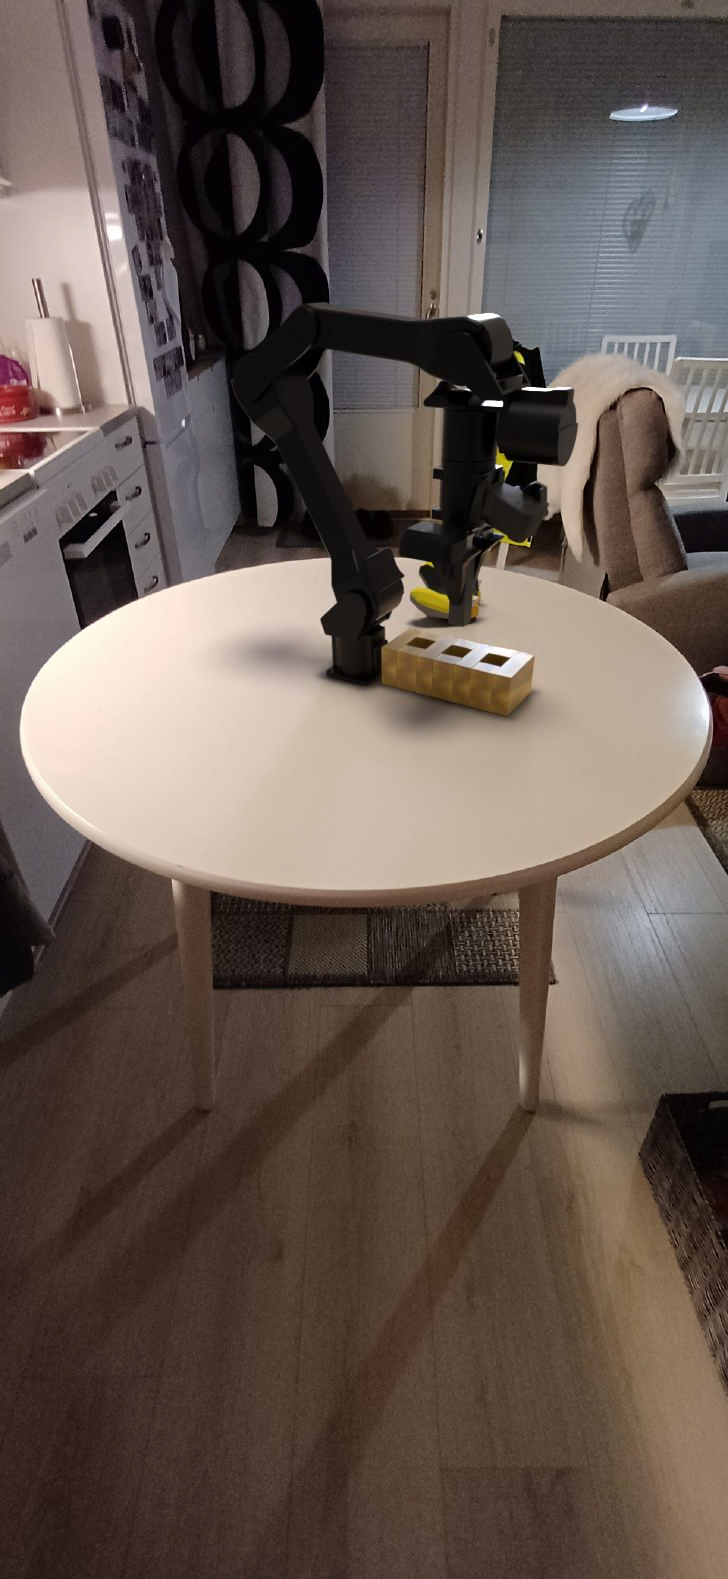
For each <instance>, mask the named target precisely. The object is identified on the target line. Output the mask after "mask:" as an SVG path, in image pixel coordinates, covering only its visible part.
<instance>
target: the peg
mask: <svg viewBox="0 0 728 1579" xmlns="http://www.w3.org/2000/svg"><path fill="white" fill-rule="evenodd" d="M472 548H476V544H472ZM474 568H475V557H474V558H473V559H472V560H471V561H470V562H469V564H468V570H467V575H466V581H465V586H464V592H463V596H462V600H461V604H460V605H459V606H454V605H451V604H450V602H449V616H448V619H447V624H449V625H452V626H457V627H461V628H464V627H465V626H467V625H468V624H470V623H471V621H472V618H471V611H472V597H473V582H474Z"/></svg>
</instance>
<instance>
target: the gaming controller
mask: <svg viewBox="0 0 728 1579" xmlns="http://www.w3.org/2000/svg"><path fill="white" fill-rule="evenodd" d="M418 576H419V578H420V579H421V580H422V582H423V584H424V585H425V587H423V586H422V587H421V586H418V587H415V588H413V589H410V590H411V591H410V593H409V600H410V602H411V603H412V604H413V606H415V607H416V609H417V610H419V611H420V612H421V613H422V614H424V615H425V616H426V617H429V618H437V619H443V620H444V619H447V620H448V616H449V599H448V597H447V595H446V592H445V590H444V588H443V586H442V583H441V581H440V579H439V577H438V574H437V572H436V570H435V568H434V566H433V565H432V563H431V562H426V561H425V562H424V563H422V564H420V566H419V569H418ZM482 581H483V576H478V577H477V580H476V583H475V586H474V588H473V597H472V611H471V619H473V618H474V617H478V616H479V607H480V605H479V604H478V603H480V602H481V596H482V592H481V589H480V587H481V584H482Z"/></svg>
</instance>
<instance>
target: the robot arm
mask: <svg viewBox="0 0 728 1579" xmlns="http://www.w3.org/2000/svg"><path fill="white" fill-rule="evenodd" d="M328 350H331V351H336V352H342V353H347V354H354V355H360V356H366V357H372V358H379V359H384V360H389V361H397V362H402V363H407V364H409V365H412V366H415V367H417V368H418V369H420V370H421V371H423V372H424V373H425V374H427V375H429V376H431V377H434V378H436V379H439V380H440V381H439V382H438V383H437V385H436V387H435V389H434V390H433V391H432V392H431V393H429V395H428V396H427V397H425V398H424V399H423V401H422V405H423V406H424V407H425V408H433V409H434V408H435V409H442V431H441V453H440V454H441V455H440V465H438V466H436V467H433V468H432V480H439V504H438V505H437V506H436V507H433V508H431V511H430V512H431V516H430V517H431V520H437V521H441V523H438V522H431V521H425V520H422V521H420V522H417V523H415V524H413V525H410V526H409V527H406V528H405V529H404V531H402V532H401V533H400V534H399V535H398V540H397V541H398V542H397V544H398V546H397V548H398V549H397V555H398V556H399V557H401V558H406V559H410V560H416V561H421V562H425V563H426V562H431V563H432V565H433V566H434V568H435V570H436V572H437V574H438V577H439V579H440V581H441V583H442V586H443V588H444V590H445V592H446V595H447V597H448V599H449V602H450V604H451V605H454V606H459V605H460V604H461V600H462V596H463V592H464V586H465V581H466V575H467V570H468V564H469V562H470V561H471V560H472V559H473V558H474V557H475V568H474V582H473V588H474V586H475V583H476V580H477V577H479V574H480V571H481V569H482V566H483V563H484V561H485V558H486V556H487V553H488V552H489V551H490V550H491V549H492V548H494V546H495V545H496V544H498V543H500V542H501V541H502V540H503V539H504V538H505V537H507V539H508V540H510V541H511V542H513V543H516V544H524V543H525V542H526V541H527V539H529V538H531V537H534V536H536V534H537V531H538V529H539V527H540V525H541V523H542V521H543V519H545V518H547V516H548V515H549V511H550V510H549V509H548V508H549V506H550V503H549V502H548V486H547V485H545V484H544V483H542V482H541V481H538V480H535V481H533V482H531V483H529V484H527V485H526V486H525V487H524V488H523V489H521V488H522V487H521V486H519V485H516V486H512V485H510V484H508V483H507V482H506V470H505V469H504V465H499V464H497V460H498V457H497V456H498V453H499V454H503V456H504V458H505V460H506V461H508V462H515V463H524V464H535V465H544V466H552V467H565V466H566V465H567V464H568V463H569V461H570V459H571V457H572V455H573V451H574V447H575V445H576V440H577V435H578V429H579V422H577V408H576V404H575V402H574V398H575V389H574V387H569V386H559V387H555V388H544V387H532V384H531V382H530V379H529V378H528V376H527V374H526V372H525V370H524V368H523V366H522V365H521V363H520V360H519V358H518V357H517V355H516V353H515V351H514V339H513V334H512V330H511V329H510V327H509V326H508V324H507V321H506V320H505V319H504V318H503V317H502V316H500V315H498V314H495V313H477V314H468V315H467V314H465V315H455V316H444V317H434V318H421V317H414V316H406V315H399V314H392V313H386V312H385V313H384V312H377V311H370V310H364V309H356V308H351V307H350V308H348V307H342V306H334V305H332V304H330V303H329V302H325V301H321V302H310V303H300V304H299V305H298V306H296V307H295V309H293V310H292V311H291V312H290V314H289V315H288V316H287V318H285V320H284V321H283V322H282V324H281V325H279V326H278V327H277V328H276V329H274V330H273V331H272V332H271V333H270V334H268V335H266V337H265V338H264V339H262V340H261V341H260V342H259V343H258V344H257V345H256V346H255V347H254V348H253V350H252V351H251V352H250V353H246V354H244V355H242V356H241V357H240V358H239V359H238V360H237V361H236V363H235V366H234V368H233V376H232V377H233V378H232V379H231V387H232V391H233V394H234V396H235V398H236V400H237V401H238V403H239V405H240V406H241V408H242V409H243V411H244V412H245V414H246V415H247V417H248V418H249V420H250V422H251V423H252V424H253V425H254V426H256V428H258V429H259V430H260V431H261V432H263V433H264V434H265V435H266V436H267V437H268V438H270V439H271V440H272V441H273V443H274V444H275V446H276V447H277V449H278V451H279V453H280V455H281V458H282V459H283V462H284V464H285V466H286V468H287V470H288V473H289V475H290V476H291V478H292V480H293V483H294V484H295V487H296V489H297V491H298V493H299V495H300V497H301V499H302V501H303V503H304V505H305V508H306V510H307V512H308V514H309V516H310V518H311V520H312V523H313V524H314V526H315V528H316V530H317V533H318V535H319V537H320V539H321V541H322V543H323V546H324V547H325V549H326V552H327V554H328V556H329V558H330V581H331V582H330V586H331V589H332V593H333V595H334V598H335V602H336V603H334V604H333V605H332V607H331V608H329V609H328V610H327V611H326V612H325V613H324V614H323V615H322V616H321V617H320V618H319V621H320V625H321V627H322V629H323V633H324V635H325V636H329V637H331V659H332V666H329V668H327V669H326V670H325V675H326V676H330V677H333V678H338V679H341V680H345V681H348V682H352V683H356V684H360V685H364V686H367V685H369V684H371V683H373V682H374V681H375V680H376V679H378V678H379V677H381V676H382V647H383V646H384V645H386V644H387V643H389V640H388V639H386V627H385V626H384V625H381V624H382V623H384V622H386V621H388V620H390V618H391V617H392V614H393V611H394V610H395V609H396V608H397V607H399V606H400V604H401V603H402V600H403V596H404V594H405V586H404V582H403V580H402V579H404V578H405V576H406V575H405V574H404V573H403V572H402V571H401V569H400V568H399V566H398V565H397V562H396V559H395V554H394V552H393V550H392V548H391V547H390V546H386V547H384V548H383V549H381V550H380V549H378V548H377V547H376V546H375V545H374V544H372V543H371V542H370V541H369V539H368V538H367V536H366V534H365V532H364V530H363V528H362V525H361V523H360V521H359V519H358V517H357V515H356V513H355V510H354V507H353V506H352V504H351V502H350V500H349V497H348V495H347V493H346V491H345V489H344V487H343V484H342V482H341V480H340V478H339V476H338V474H337V470H336V469H335V467H334V465H333V462H332V460H331V458H330V456H329V455H328V452H327V450H326V448H325V446H324V443H323V440H322V439H321V437H320V434H319V432H318V430H317V428H316V426H315V422H314V393H313V391H312V387H311V385H310V381H309V379H310V378H311V377H312V376H313V375H314V374H315V372H316V371H317V370H319V367H320V366H321V364H322V363H323V360H324V358H325V355H326V353H327V351H328ZM458 387H466V388H458ZM495 530H496V531H498V532H500V533H498V532H494V531H495ZM472 544H476V548H472Z"/></svg>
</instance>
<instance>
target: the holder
mask: <svg viewBox="0 0 728 1579" xmlns="http://www.w3.org/2000/svg"><path fill="white" fill-rule="evenodd" d="M535 657H536V656H535V654H531V653H526V652H523V651H517V650H514V649H509V648H504V647H499V646H495V645H490V644H485V643H480V642H476V641H471V640H468V639H462V638H458V637H455V636H454V637H453V636H449V635H444V634H440V633H435V632H430V631H426V630H421V629H416V628H412V627H409V628H408V629H406V630H404V631H403V632H402V633H401V634H399V635H398V636H396V637H395V638H393V639H391V640H390V641H388V643H387V644H386V645H384V646H383V647H382V675H381V684H382V685H385V686H390V687H393V688H397V689H400V690H404V691H408V692H413V693H416V694H420V695H424V696H427V697H432V698H435V699H439V700H443V701H446V702H450V703H455V704H458V705H462V706H467V707H470V708H474V709H477V710H481V711H485V712H488V713H492V714H497V715H499V716H504V717H508V716H510V714H511V713H512V712H513V711H515V709H516V708H517V707H518V706H519V705H520V704H521V703H522V702H523V701H524V700H525V699H526V698H527V697H528V696H529V695H530V694H531V692H532V685H533V675H534V664H535Z"/></svg>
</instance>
